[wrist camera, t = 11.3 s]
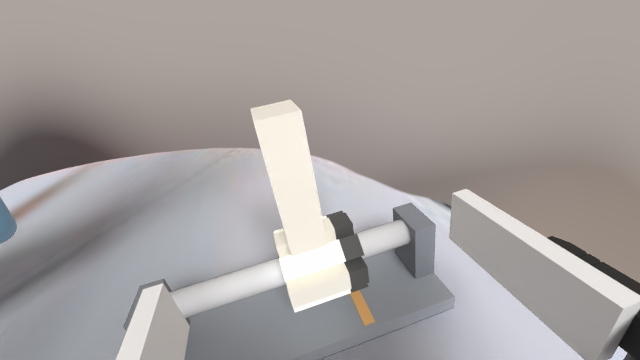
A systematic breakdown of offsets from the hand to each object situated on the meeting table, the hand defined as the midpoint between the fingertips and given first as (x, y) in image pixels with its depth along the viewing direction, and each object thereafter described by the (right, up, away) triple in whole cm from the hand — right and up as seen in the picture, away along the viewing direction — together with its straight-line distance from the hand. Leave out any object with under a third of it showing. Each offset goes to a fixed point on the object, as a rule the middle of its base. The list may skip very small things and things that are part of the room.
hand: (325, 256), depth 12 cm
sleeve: (0, -7, +14) cm, 16 cm away
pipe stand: (-2, -10, +15) cm, 18 cm away
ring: (+3, -6, +15) cm, 16 cm away
